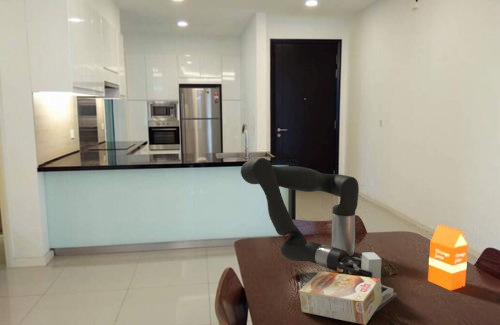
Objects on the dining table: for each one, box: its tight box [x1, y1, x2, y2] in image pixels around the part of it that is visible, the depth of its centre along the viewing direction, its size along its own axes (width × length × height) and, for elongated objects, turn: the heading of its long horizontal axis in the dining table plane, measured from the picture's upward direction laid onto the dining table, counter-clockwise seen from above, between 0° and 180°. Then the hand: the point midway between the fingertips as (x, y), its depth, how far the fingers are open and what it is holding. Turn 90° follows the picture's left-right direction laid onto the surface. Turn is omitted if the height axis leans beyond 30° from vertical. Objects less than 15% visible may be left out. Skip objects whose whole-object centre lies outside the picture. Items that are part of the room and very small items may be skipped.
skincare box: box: [361, 251, 382, 280], centre depth 120 cm, size 6×4×12 cm
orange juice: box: [427, 224, 469, 291], centre depth 131 cm, size 8×9×20 cm
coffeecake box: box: [298, 270, 382, 325], centre depth 112 cm, size 15×7×20 cm
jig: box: [374, 284, 397, 313], centre depth 121 cm, size 14×13×3 cm
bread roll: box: [380, 257, 399, 277], centre depth 143 cm, size 13×12×5 cm
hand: (377, 272), depth 118 cm, fingers closed on skincare box, 7 cm apart
